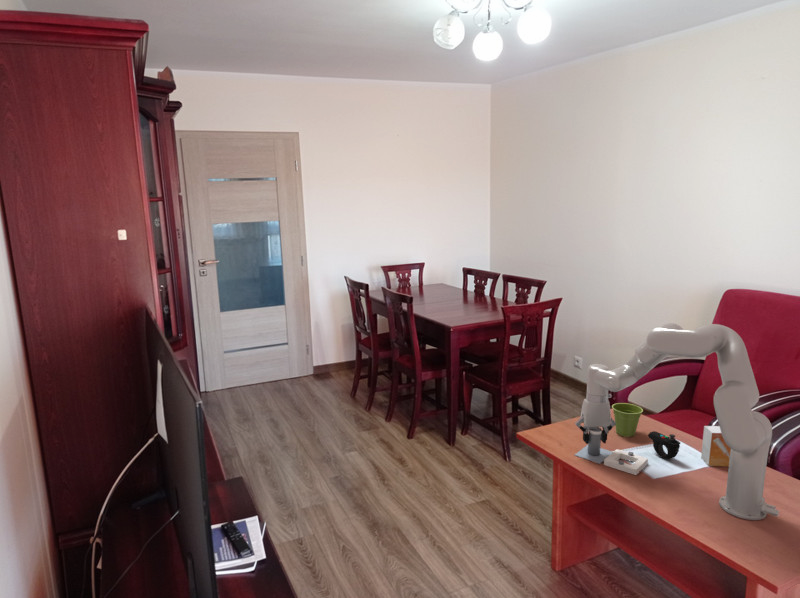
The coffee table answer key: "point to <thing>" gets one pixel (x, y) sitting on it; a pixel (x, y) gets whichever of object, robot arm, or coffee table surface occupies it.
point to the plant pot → (626, 418)
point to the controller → (664, 440)
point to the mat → (597, 459)
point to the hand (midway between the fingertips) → (594, 441)
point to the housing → (620, 465)
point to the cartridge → (594, 441)
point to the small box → (714, 447)
